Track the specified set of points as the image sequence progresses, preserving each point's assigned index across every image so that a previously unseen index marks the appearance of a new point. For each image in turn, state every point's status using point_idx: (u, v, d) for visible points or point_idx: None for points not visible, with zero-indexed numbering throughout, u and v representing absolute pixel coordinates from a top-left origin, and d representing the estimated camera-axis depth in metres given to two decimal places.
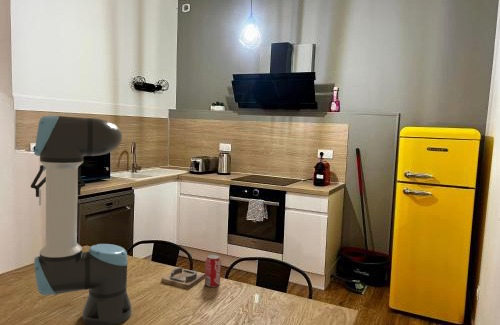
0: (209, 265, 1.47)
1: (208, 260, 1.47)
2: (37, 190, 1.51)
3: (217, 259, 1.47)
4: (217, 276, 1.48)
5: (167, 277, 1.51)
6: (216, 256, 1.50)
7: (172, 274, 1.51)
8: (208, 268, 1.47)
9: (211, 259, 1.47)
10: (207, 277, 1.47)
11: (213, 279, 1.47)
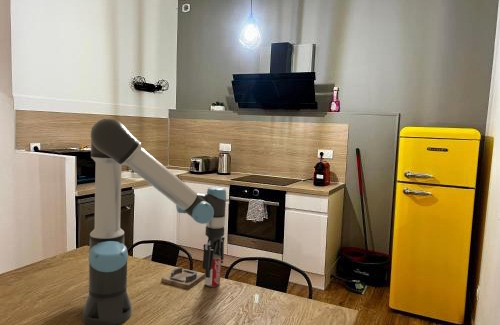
0: None
1: None
2: (209, 270, 1.45)
3: (217, 259, 1.47)
4: (217, 276, 1.48)
5: (167, 277, 1.51)
6: (216, 256, 1.50)
7: (172, 274, 1.51)
8: None
9: None
10: None
11: (213, 279, 1.47)
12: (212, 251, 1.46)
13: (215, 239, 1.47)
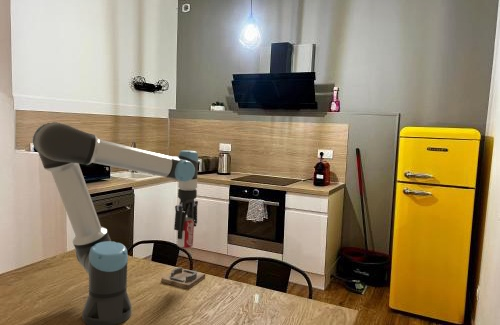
0: None
1: None
2: (181, 232, 1.47)
3: (189, 221, 1.49)
4: (190, 238, 1.50)
5: (167, 277, 1.51)
6: (189, 219, 1.52)
7: (172, 274, 1.51)
8: None
9: None
10: None
11: (185, 241, 1.49)
12: (184, 213, 1.48)
13: (187, 201, 1.49)
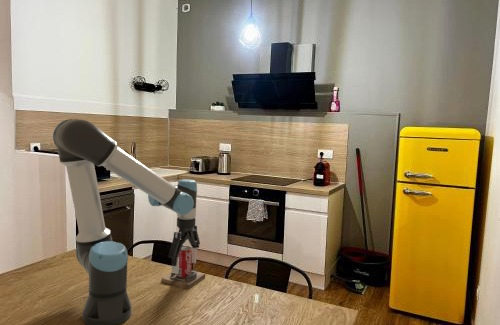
0: (180, 256, 1.50)
1: None
2: (175, 259, 1.45)
3: (188, 251, 1.51)
4: (188, 267, 1.51)
5: (167, 277, 1.51)
6: (187, 248, 1.53)
7: (172, 274, 1.51)
8: (179, 260, 1.50)
9: (182, 251, 1.50)
10: None
11: (184, 271, 1.50)
12: (182, 240, 1.48)
13: (186, 232, 1.50)
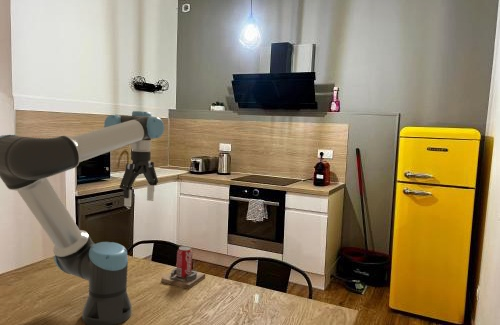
0: (180, 256, 1.50)
1: (179, 252, 1.50)
2: (127, 191, 1.40)
3: (188, 251, 1.51)
4: (188, 267, 1.51)
5: (167, 277, 1.51)
6: (187, 248, 1.53)
7: (172, 274, 1.51)
8: (179, 260, 1.50)
9: (182, 251, 1.50)
10: (178, 268, 1.51)
11: (184, 271, 1.50)
12: (135, 173, 1.43)
13: (140, 165, 1.45)
